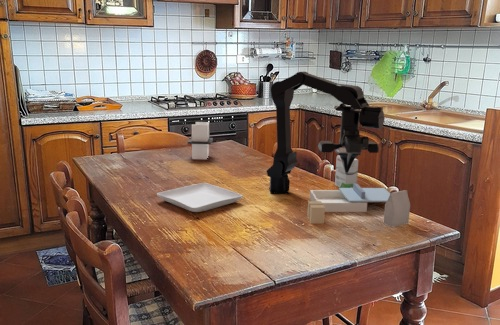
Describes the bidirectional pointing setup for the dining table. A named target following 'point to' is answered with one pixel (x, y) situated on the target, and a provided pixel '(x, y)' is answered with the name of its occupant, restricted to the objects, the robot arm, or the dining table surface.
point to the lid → (365, 194)
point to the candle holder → (200, 140)
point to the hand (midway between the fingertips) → (346, 172)
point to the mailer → (336, 201)
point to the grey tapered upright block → (397, 209)
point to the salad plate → (199, 197)
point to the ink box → (346, 174)
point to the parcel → (316, 212)
